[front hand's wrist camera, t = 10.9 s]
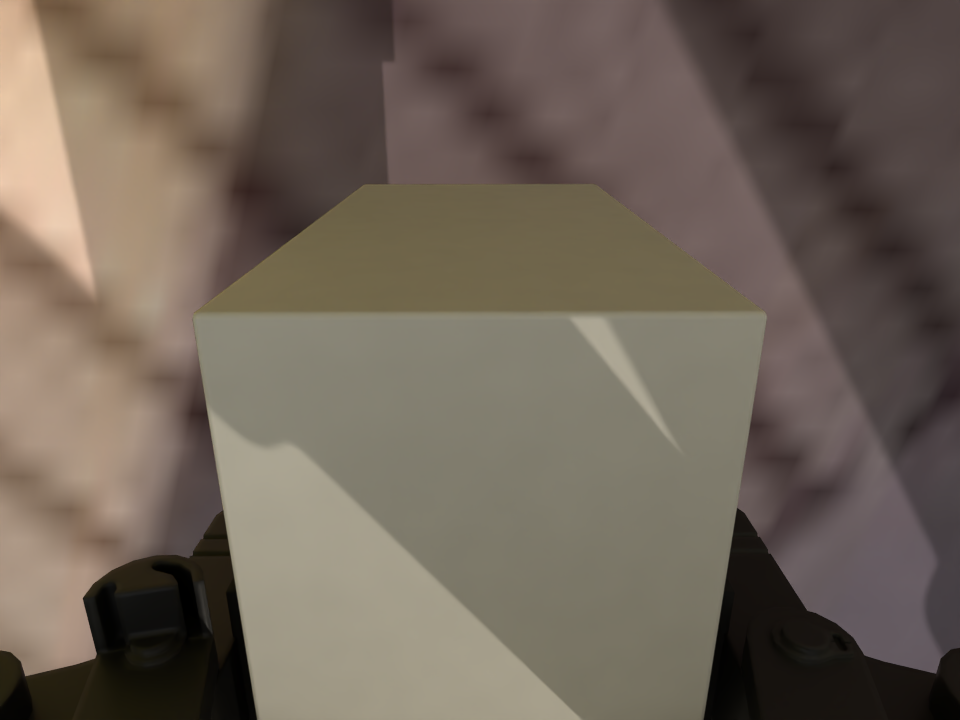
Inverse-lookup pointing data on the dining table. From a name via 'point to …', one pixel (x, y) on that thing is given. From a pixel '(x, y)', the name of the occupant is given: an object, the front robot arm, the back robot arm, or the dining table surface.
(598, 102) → the dining table surface
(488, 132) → the dining table surface
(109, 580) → the front robot arm
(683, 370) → the beam
